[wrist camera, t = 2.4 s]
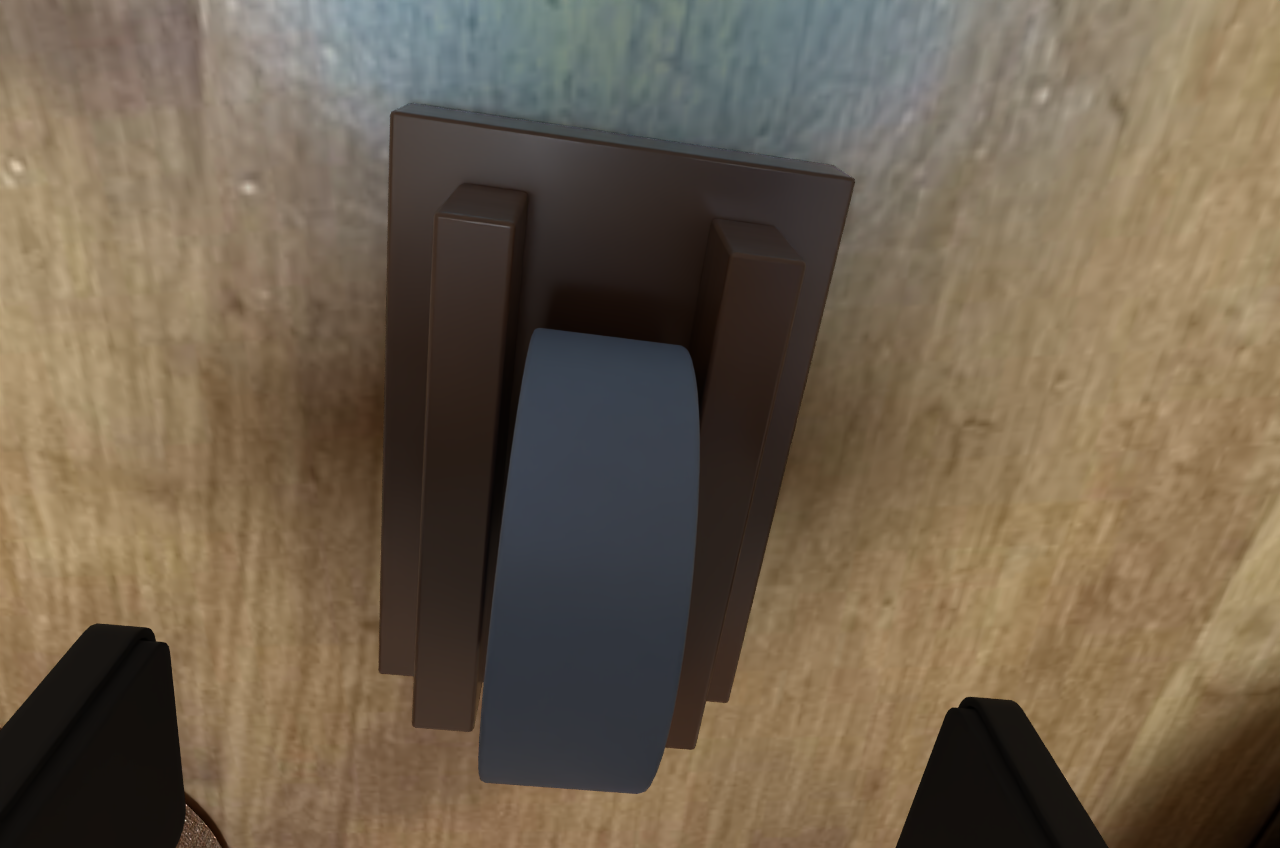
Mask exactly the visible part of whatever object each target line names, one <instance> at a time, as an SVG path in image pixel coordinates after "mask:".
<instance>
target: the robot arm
mask: <svg viewBox="0 0 1280 848" xmlns="http://www.w3.org/2000/svg"><path fill="white" fill-rule="evenodd" d="M185 816H186V805H185V795H184V785H183V775H182V766H181V756H180V746H179V736H178V726H177V716H176V706H175V697H174V687H173V677H172V667H171V657H170V650H169V646H168V645H167V643H164V642H156V639H155V635H154V633H153V631H152V630H151V629H149V628H145V627H133V626H121V625H109V624H94V625H92V626H90V627H89V628H88V629H87V630H86V631H85V632H84V633H83V634H82V635H81V636H80V637H79V639H78V640H77V641H76V642H75V643H74V644H73V646H72V647H71V648H70V649H69V650H68V651H67V653H66V654H65V655H64V656H63V657H62V658H61V660H60V661H59V662H58V663H57V664H56V666H55V667H54V668H53V669H52V670H51V671H50V673H49V674H48V675H47V676H46V677H45V678H44V680H43V681H42V682H41V683H40V684H39V686H38V687H37V688H36V689H35V690H34V691H33V693H32V694H31V695H30V696H29V697H28V698H27V700H26V701H25V702H24V703H23V704H22V706H21V707H20V708H19V709H18V710H17V711H16V713H15V714H14V715H13V716H12V717H11V718H10V720H9V721H8V722H7V723H6V724H5V725H4V727H3V728H2V729H1V730H0V848H176V846H177V844H178V842H179V840H180V837H181V834H182V831H183V827H184V823H185ZM896 848H1108V846H1107V844H1106V843H1105V841H1104V840H1103V838H1102V836H1101V835H1100V833H1099V832H1098V830H1097V828H1096V827H1095V825H1094V824H1093V822H1092V820H1091V819H1090V817H1089V816H1088V814H1087V812H1086V811H1085V809H1084V808H1083V806H1082V804H1081V803H1080V801H1079V800H1078V798H1077V796H1076V795H1075V793H1074V791H1073V790H1072V788H1071V787H1070V785H1069V783H1068V782H1067V780H1066V779H1065V777H1064V775H1063V774H1062V772H1061V771H1060V769H1059V767H1058V766H1057V764H1056V763H1055V761H1054V759H1053V758H1052V756H1051V755H1050V753H1049V751H1048V750H1047V748H1046V747H1045V745H1044V743H1043V742H1042V740H1041V738H1040V737H1039V735H1038V734H1037V732H1036V730H1035V729H1034V727H1033V726H1032V724H1031V722H1030V721H1029V719H1028V718H1027V716H1026V714H1025V713H1024V711H1023V710H1022V708H1021V707H1020V706H1019V705H1018V704H1017V703H1016V702H1014V701H1012V700H1002V699H990V698H978V697H966V698H965V699H964V700H963V701H962V702H961V703H960V705H959V707H958V708H951V709H950V710H948V712H947V714H946V716H945V718H944V721H943V724H942V726H941V729H940V732H939V734H938V737H937V740H936V742H935V745H934V747H933V750H932V753H931V755H930V758H929V761H928V763H927V766H926V769H925V771H924V774H923V777H922V779H921V782H920V785H919V787H918V790H917V793H916V795H915V798H914V800H913V803H912V806H911V808H910V811H909V814H908V816H907V819H906V822H905V824H904V827H903V830H902V832H901V835H900V838H899V840H898V843H897V845H896Z"/></svg>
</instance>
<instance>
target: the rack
mask: <svg viewBox="0 0 1280 848" xmlns="http://www.w3.org/2000/svg"><path fill="white" fill-rule="evenodd" d="M854 185H855V179H854V178H853V177H851V176H849V175H848V174H846V173H845V172H843V171H842V170H840V169H838V168H837V167H835V166H834V165H829V164H822V163H815V162H808V161H801V160H795V159H788V158H781V157H774V156H767V155H761V154H754V153H747V152H740V151H733V150H727V149H720V148H713V147H706V146H699V145H693V144H686V143H679V142H672V141H665V140H659V139H652V138H645V137H638V136H631V135H625V134H618V133H611V132H604V131H597V130H591V129H584V128H577V127H570V126H563V125H557V124H550V123H543V122H536V121H529V120H523V119H516V118H509V117H502V116H495V115H489V114H482V113H475V112H468V111H461V110H455V109H448V108H441V107H434V106H427V105H421V104H414V103H410V104H407V105H405V106H403V107H400V108H398V109H396V110H394V111H392V112H391V114H390V146H389V193H388V241H387V288H386V336H385V384H384V431H383V479H382V526H381V574H380V622H379V669H378V670H379V673H381V674H391V675H403V676H414V684H413V708H412V725H413V727H415V728H426V729H439V730H451V731H464V732H471V731H472V730H473V729H474V726H475V721H476V715H477V710H478V704H479V699H480V693H481V688H482V682H484V676H485V665H486V655H487V646H488V636H489V627H490V617H491V608H492V599H493V591H494V582H495V573H496V565H497V556H498V548H499V540H500V532H501V524H502V516H503V509H504V501H505V493H506V486H507V478H508V471H509V464H510V457H511V450H512V443H513V436H514V429H515V422H516V416H517V409H518V403H519V397H520V391H521V385H522V379H523V373H524V368H525V362H526V357H527V352H528V348H529V343H530V340H531V336H532V334H533V332H534V330H535V329H537V328H545V329H553V330H561V331H569V332H577V333H585V334H593V335H601V336H609V337H617V338H625V339H633V340H641V341H649V342H657V343H665V344H673V345H681V346H683V347H685V348H686V349H687V350H688V351H689V354H690V356H691V359H692V362H693V367H694V371H695V376H696V384H697V392H698V405H699V428H700V473H699V500H698V518H697V535H696V548H695V560H694V572H693V582H692V591H691V601H690V610H689V618H688V626H687V634H686V641H685V649H684V655H683V661H682V668H681V674H680V681H679V686H678V691H677V697H676V702H675V707H674V712H673V717H672V721H671V726H670V730H669V734H668V738H667V742H666V745H665V748H678V749H690V750H692V749H694V748H695V746H696V743H697V739H698V734H699V730H700V726H701V721H702V717H703V712H704V708H705V704H706V701H710V702H722V703H727V702H728V701H729V697H730V693H731V689H732V685H733V681H734V677H735V673H736V669H737V664H738V660H739V656H740V652H741V648H742V644H743V640H744V636H745V632H746V628H747V623H748V619H749V615H750V611H751V607H752V603H753V599H754V595H755V591H756V587H757V582H758V578H759V574H760V570H761V566H762V562H763V558H764V554H765V550H766V546H767V541H768V537H769V533H770V529H771V525H772V521H773V517H774V513H775V509H776V505H777V500H778V496H779V492H780V488H781V484H782V480H783V476H784V472H785V468H786V464H787V459H788V455H789V451H790V447H791V443H792V439H793V435H794V431H795V427H796V423H797V418H798V414H799V410H800V406H801V402H802V398H803V394H804V390H805V386H806V382H807V377H808V373H809V369H810V365H811V361H812V357H813V353H814V349H815V345H816V340H817V336H818V332H819V328H820V324H821V320H822V316H823V312H824V308H825V304H826V299H827V295H828V291H829V287H830V283H831V279H832V275H833V271H834V267H835V263H836V258H837V254H838V250H839V246H840V242H841V238H842V234H843V230H844V226H845V222H846V217H847V213H848V209H849V205H850V201H851V197H852V193H853V189H854Z"/></svg>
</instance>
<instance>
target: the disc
mask: <svg viewBox="0 0 1280 848" xmlns="http://www.w3.org/2000/svg"><path fill="white" fill-rule="evenodd" d="M699 473H700V428H699V405H698V392H697V384H696V376H695V371H694V367H693V362H692V359H691V356H690V354H689V351H688V350H687V349H686V348H685V347H683V346H681V345H673V344H665V343H657V342H649V341H641V340H633V339H625V338H617V337H609V336H601V335H593V334H585V333H577V332H569V331H561V330H553V329H545V328H537V329H535V330H534V332H533V334H532V336H531V340H530V343H529V348H528V352H527V357H526V362H525V368H524V373H523V379H522V385H521V391H520V397H519V403H518V409H517V416H516V422H515V429H514V436H513V443H512V450H511V457H510V464H509V471H508V478H507V486H506V493H505V501H504V509H503V516H502V524H501V532H500V540H499V548H498V556H497V565H496V573H495V582H494V591H493V599H492V608H491V617H490V627H489V636H488V646H487V655H486V665H485V676H484V687H483V698H482V710H481V722H480V737H479V756H478V769H479V776H480V779H481V781H483V782H485V783H496V784H510V785H523V786H537V787H551V788H564V789H578V790H591V791H605V792H618V793H632V794H638V793H642V792H645V791H646V790H647V789H648V788H649V787H650V785H651V783H652V781H653V779H654V777H655V775H656V773H657V770H658V767H659V765H660V762H661V759H662V756H663V753H664V749H665V745H666V742H667V738H668V734H669V730H670V726H671V721H672V717H673V712H674V707H675V702H676V697H677V691H678V686H679V681H680V674H681V668H682V661H683V655H684V649H685V641H686V634H687V626H688V618H689V610H690V601H691V591H692V582H693V572H694V560H695V548H696V535H697V518H698V500H699Z"/></svg>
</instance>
